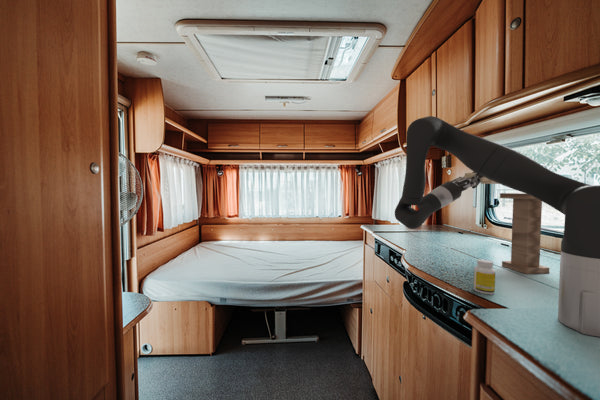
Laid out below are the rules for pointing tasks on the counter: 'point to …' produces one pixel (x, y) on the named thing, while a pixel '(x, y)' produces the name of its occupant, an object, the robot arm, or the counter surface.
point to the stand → (525, 234)
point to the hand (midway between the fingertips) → (479, 173)
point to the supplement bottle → (484, 277)
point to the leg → (483, 179)
